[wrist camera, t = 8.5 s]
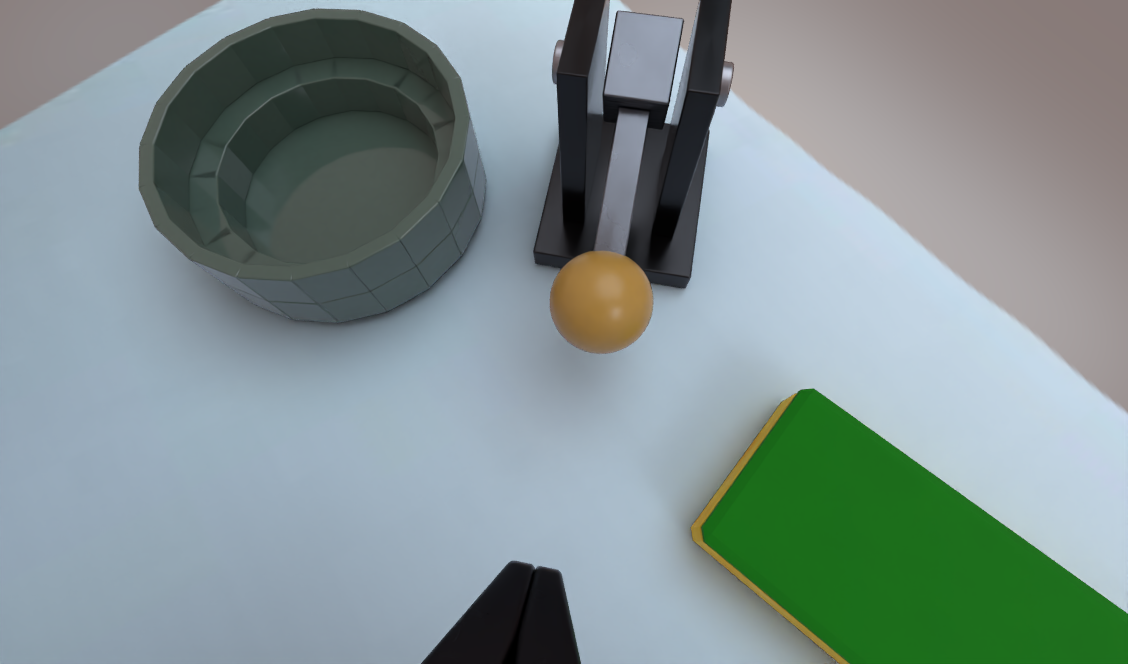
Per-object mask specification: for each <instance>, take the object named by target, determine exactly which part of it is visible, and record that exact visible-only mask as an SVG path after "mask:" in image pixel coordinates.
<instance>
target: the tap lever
mask: <svg viewBox="0 0 1128 664" xmlns="http://www.w3.org/2000/svg"><path fill="white" fill-rule="evenodd" d="M683 23H684V20H683V19H682V18H674V17H666V16H659V15H650V14H642V13H635V12H627V11H617V13H616V18H615V24H614V29H613V35H612V41H611V47H610V53H609V58H608V64H607V70H606V76H605V81H604V87H603V93H602V97H603V120H604V121H605V122H610V123H615V129H614V135H613V141H612V146H611V152H610V158H609V164H608V169H607V175H606V181H605V187H604V192H603V198H602V204H601V210H600V215H599V221H598V227H597V233H596V238H595V244H594V250H593V251H589V252H586V253H583V254H581V255H579V256H577V257H575V258H573V259H572V260H570V261H569V262H568V263H567V264H566V265H565V266H564V267H563V268H562V269H561V270H560V272H559V273H558V274H557V276H556V278H555V280H554V282H553V285H552V288H551V292H550V312H551V316H552V319H553V322H554V324H555V326H556V328H557V330H558V331H559V333H560V334H561V335H562V336H563V337H564V338H565V339H566V340H567V341H568V342H569V343H570V344H572V345H573V346H575V347H577V348H579V349H581V350H583V351H586V352H590V353H597V354H607V353H613V352H616V351H619V350H622V349H624V348H626V347H628V346H629V345H631V344H632V343H634V342H635V341H636V340H637V339H638V338H639V337H640V336H641V335H642V333H643V332H644V331H645V329H646V327H647V326H648V324H649V321H650V318H651V315H652V311H653V293H652V288H651V285H650V282H649V280H648V278H647V276H646V274H645V273H644V271H643V270H642V269H641V268H640V266H638V265H637V264H636V263H635V262H634V261H633V260H631V259H630V258H628V257H627V256H625V255H626V249H627V244H628V238H629V232H630V226H631V221H632V215H633V209H634V204H635V198H636V192H637V187H638V181H639V175H640V169H641V164H642V158H643V152H644V147H645V141H646V135H647V129H648V128H652V129H659V130H662V129H663V126H664V123H665V119H666V115H667V111H668V107H669V103H670V97H671V91H672V86H673V80H674V74H675V69H676V63H677V57H678V52H679V46H680V40H681V35H682V29H683Z"/></svg>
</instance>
